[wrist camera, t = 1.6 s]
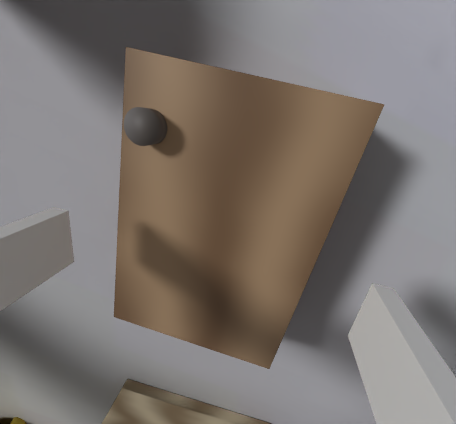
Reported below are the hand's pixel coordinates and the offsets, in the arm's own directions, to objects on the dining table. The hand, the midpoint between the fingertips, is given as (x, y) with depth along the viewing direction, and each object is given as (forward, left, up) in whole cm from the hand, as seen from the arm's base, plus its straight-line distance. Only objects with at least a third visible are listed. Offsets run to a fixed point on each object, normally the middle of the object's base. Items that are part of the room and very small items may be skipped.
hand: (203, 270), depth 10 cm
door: (0, 0, -8) cm, 8 cm away
